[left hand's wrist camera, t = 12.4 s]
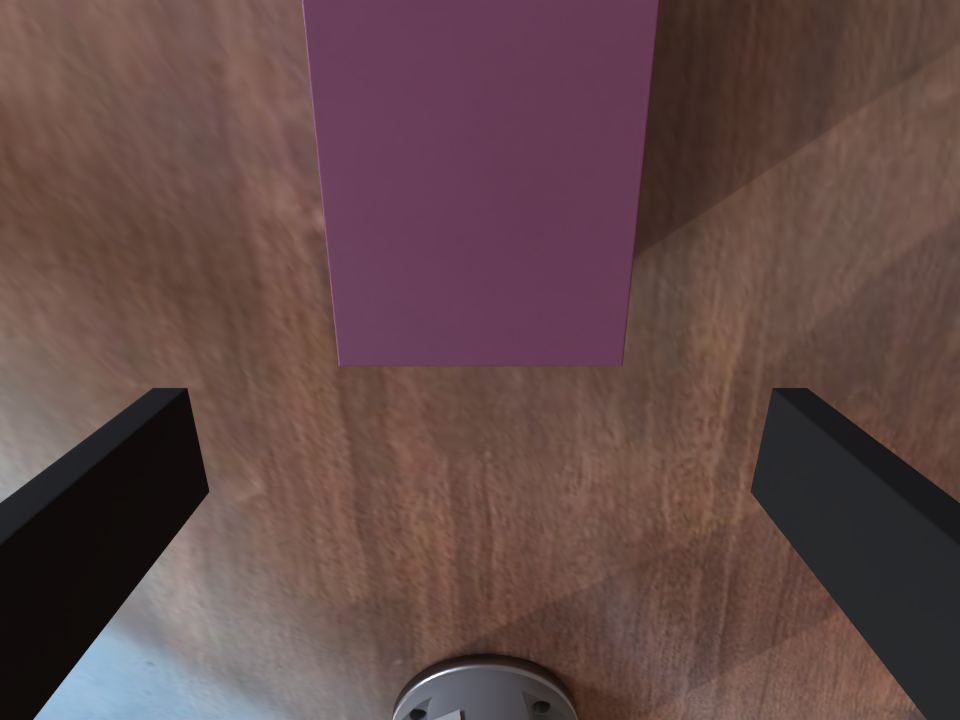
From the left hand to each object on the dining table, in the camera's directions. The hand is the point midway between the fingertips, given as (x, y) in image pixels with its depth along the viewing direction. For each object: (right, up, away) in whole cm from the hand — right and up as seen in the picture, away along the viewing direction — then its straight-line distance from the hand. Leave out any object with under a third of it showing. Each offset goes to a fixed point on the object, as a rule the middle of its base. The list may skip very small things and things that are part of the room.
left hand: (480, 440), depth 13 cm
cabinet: (0, +15, +16) cm, 22 cm away
